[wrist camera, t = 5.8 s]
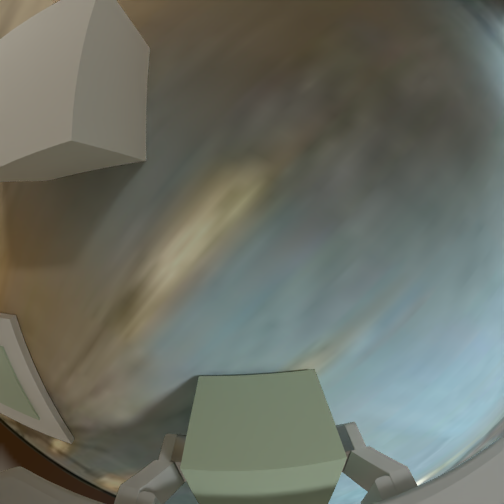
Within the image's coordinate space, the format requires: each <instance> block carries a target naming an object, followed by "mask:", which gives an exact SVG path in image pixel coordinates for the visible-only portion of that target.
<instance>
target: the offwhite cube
mask: <svg viewBox="0 0 504 504" xmlns="http://www.w3.org/2000/svg"><path fill="white" fill-rule="evenodd" d="M149 56H150V48H149V46H148V45H147V43H146V42H145V40H144V39H143V37H142V36H141V35H140V33H139V32H138V30H137V29H136V27H135V26H134V25H133V23H132V22H131V20H130V19H129V17H128V16H127V15H126V13H125V12H124V10H123V9H122V8H121V6H120V5H119V3H118V2H117V1H116V0H60V1H59V2H57V3H55V4H53V5H51V6H49V7H48V8H46V9H44V10H42V11H41V12H39V13H37V14H36V15H34V16H32V17H31V18H29V19H28V20H26V21H25V22H23V23H22V24H20V25H19V26H17V27H16V28H14V29H13V30H12V31H10V32H9V33H8V34H6V35H5V36H4V37H2V38H1V39H0V182H15V181H50V180H53V179H57V178H61V177H65V176H70V175H74V174H78V173H83V172H87V171H92V170H97V169H102V168H107V167H112V166H118V165H124V164H130V163H136V162H142V161H146V106H147V83H148V68H149Z"/></svg>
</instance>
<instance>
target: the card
mask: <svg viewBox="0 0 504 504" xmlns="http://www.w3.org/2000/svg"><path fill="white" fill-rule="evenodd" d="M0 413H2V414H4V415H5V416H7V417H9V418H11V419H13V420H15V421H17V422H19V423H21V424H23V425H25V426H28V427H30V428H32V429H34V430H37V431H39V432H41V433H44V434H46V435H48V436H51V437H54V438H56V439H59V440H62V441H64V442H67V443H70V444H72V442H73V441H74V437H73V436H72V434H71V432H70V431H69V429H68V428H67V426H66V425H65V423H64V421H63V420H62V418H61V416H60V415H59V413H58V411H57V409H56V408H55V406H54V404H53V402H52V400H51V399H50V397H49V395H48V393H47V391H46V389H45V387H44V385H43V383H42V381H41V379H40V377H39V374H38V372H37V370H36V368H35V365H34V363H33V361H32V358H31V356H30V354H29V351H28V349H27V346H26V343H25V341H24V338H23V335H22V332H21V330H20V327H19V324H18V321H17V317H16V315H11V314H4V313H0Z"/></svg>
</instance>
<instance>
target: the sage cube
mask: <svg viewBox="0 0 504 504" xmlns="http://www.w3.org/2000/svg"><path fill="white" fill-rule="evenodd" d="M346 459H347V456H346V453H345V450H344V447H343V445H342V442H341V439H340V436H339V434H338V431H337V428H336V425H335V423H334V420H333V417H332V415H331V412H330V409H329V406H328V404H327V401H326V398H325V396H324V393H323V390H322V388H321V385H320V382H319V380H318V377H317V374H316V372H315V369H312V370H303V371H294V372H284V373H273V374H258V375H239V376H199V379H198V383H197V388H196V393H195V397H194V402H193V407H192V411H191V416H190V421H189V426H188V431H187V436H186V441H185V446H184V451H183V456H182V461H181V466H180V470H181V472H182V474H183V475H184V477H185V479H186V481H187V483H188V485H189V487H190V489H191V491H192V492H193V494H194V496H195V498H196V499H197V501H198V503H199V504H328V502H329V500H330V498H331V496H332V494H333V491H334V489H335V487H336V484H337V482H338V480H339V477H340V475H341V472H342V470H343V467H344V465H345V462H346Z"/></svg>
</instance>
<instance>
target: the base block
mask: <svg viewBox="0 0 504 504" xmlns="http://www.w3.org/2000/svg"><path fill="white" fill-rule="evenodd" d="M52 4H53V1H52V0H0V39H1V38H2V37H4V36H5V35H6V34H8V33H9V32H10V31H12V30H13V29H14V28H16V27H17V26H19V25H20V24H22V23H23V22H25V21H26V20H28V19H29V18H31V17H32V16H34V15H36V14H37V13H39V12H41V11H42V10H44V9H46V8H48V7H49V6H51V5H52Z"/></svg>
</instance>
